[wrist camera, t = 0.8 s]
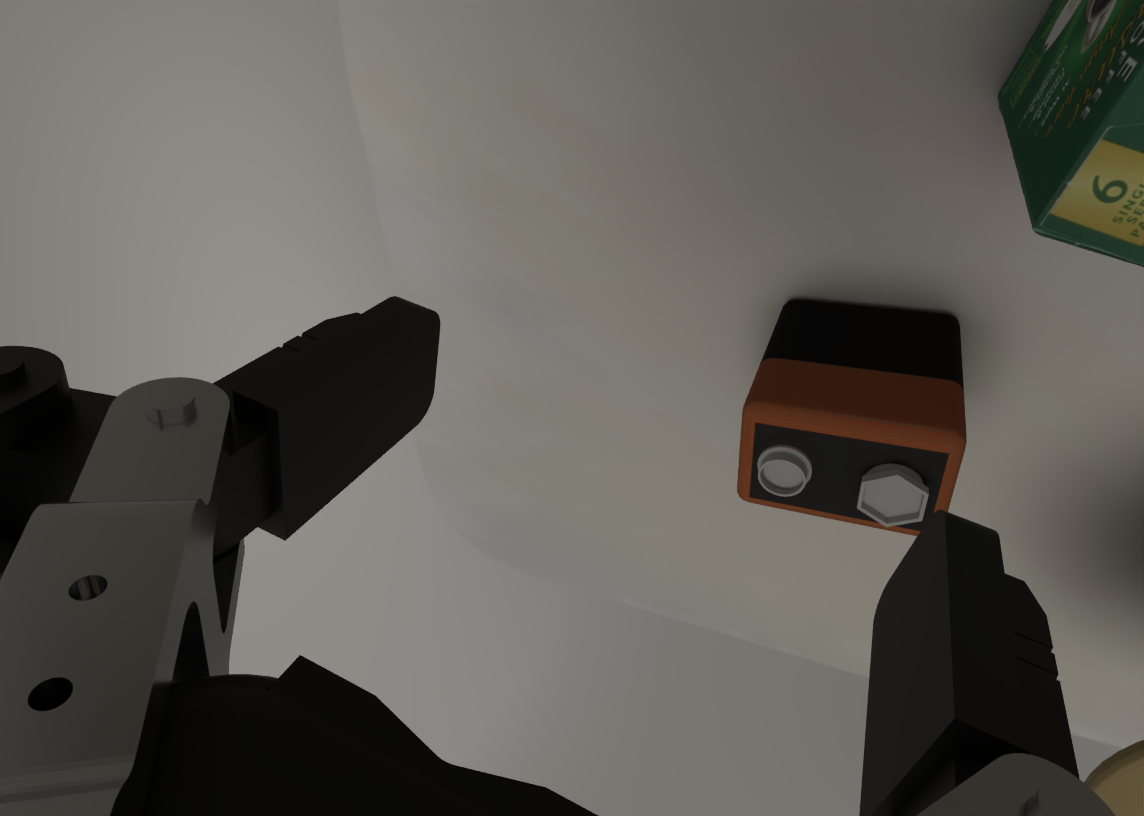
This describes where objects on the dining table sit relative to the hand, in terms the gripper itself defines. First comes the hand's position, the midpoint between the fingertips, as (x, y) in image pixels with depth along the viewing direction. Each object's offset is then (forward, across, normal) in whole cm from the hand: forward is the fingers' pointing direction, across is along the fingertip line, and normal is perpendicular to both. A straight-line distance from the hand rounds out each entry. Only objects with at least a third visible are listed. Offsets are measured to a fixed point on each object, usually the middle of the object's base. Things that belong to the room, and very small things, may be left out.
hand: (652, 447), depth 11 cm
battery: (+21, -5, +6) cm, 23 cm away
